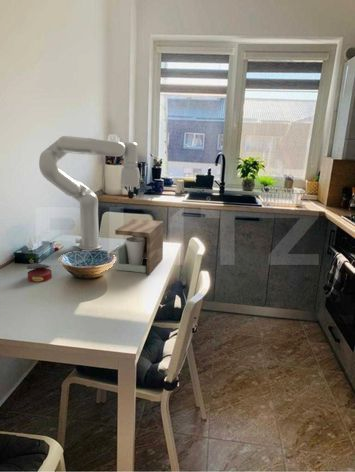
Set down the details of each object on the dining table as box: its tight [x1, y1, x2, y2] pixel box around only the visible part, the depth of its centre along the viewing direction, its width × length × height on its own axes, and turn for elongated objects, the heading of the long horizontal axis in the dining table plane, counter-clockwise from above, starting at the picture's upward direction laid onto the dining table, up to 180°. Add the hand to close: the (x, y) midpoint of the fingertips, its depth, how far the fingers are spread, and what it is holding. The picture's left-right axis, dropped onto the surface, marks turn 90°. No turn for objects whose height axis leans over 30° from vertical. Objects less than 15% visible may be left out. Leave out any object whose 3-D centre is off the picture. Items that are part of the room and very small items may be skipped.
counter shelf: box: [114, 218, 164, 276], centre depth 173 cm, size 16×24×20 cm, turn 168°
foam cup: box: [125, 236, 145, 266], centre depth 175 cm, size 10×9×13 cm
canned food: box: [26, 262, 53, 283], centre depth 156 cm, size 11×10×10 cm
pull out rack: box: [106, 241, 147, 274], centre depth 175 cm, size 20×20×10 cm
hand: (130, 198), depth 202 cm, fingers closed
